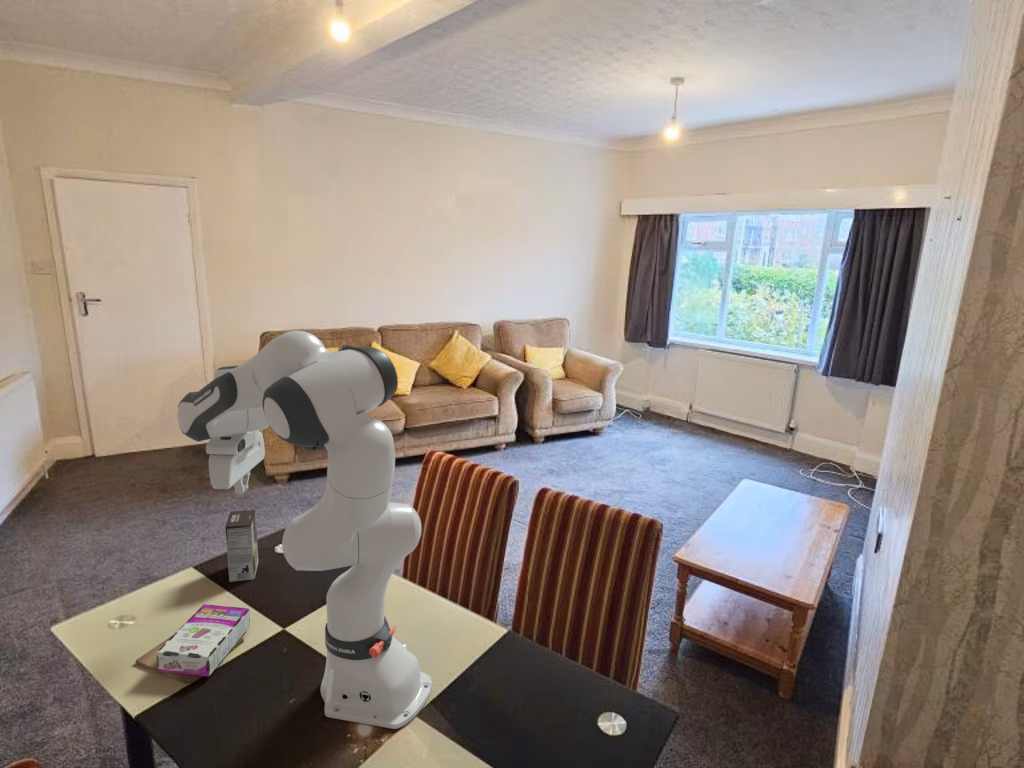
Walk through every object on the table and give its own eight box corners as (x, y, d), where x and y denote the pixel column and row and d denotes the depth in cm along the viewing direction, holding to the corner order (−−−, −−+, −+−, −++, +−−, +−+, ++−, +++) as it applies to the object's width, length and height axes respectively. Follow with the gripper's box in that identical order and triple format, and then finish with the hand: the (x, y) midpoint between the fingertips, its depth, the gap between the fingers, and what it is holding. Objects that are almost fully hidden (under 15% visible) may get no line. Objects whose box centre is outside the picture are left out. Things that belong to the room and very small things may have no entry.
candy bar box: (205, 622, 130) (156, 672, 114) (203, 603, 129) (154, 651, 113) (251, 627, 130) (209, 678, 114) (250, 607, 129) (207, 656, 113)
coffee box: (233, 564, 156) (230, 510, 152) (259, 561, 158) (255, 508, 154) (228, 582, 147) (224, 526, 144) (255, 579, 149) (251, 524, 146)
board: (243, 641, 126) (243, 638, 126) (189, 684, 113) (188, 681, 113) (193, 624, 131) (193, 621, 130) (135, 663, 118) (135, 660, 118)
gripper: (244, 421, 137) (247, 474, 140) (201, 449, 117) (206, 510, 120) (270, 422, 137) (272, 474, 140) (231, 450, 117) (236, 511, 120)
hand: (241, 491), depth 130 cm, fingers closed
